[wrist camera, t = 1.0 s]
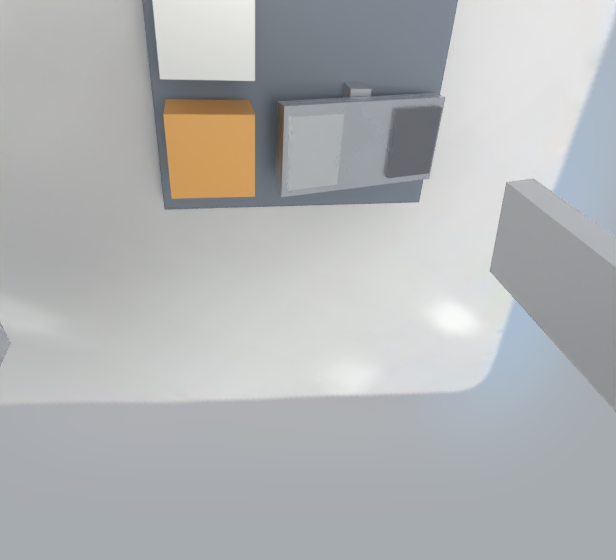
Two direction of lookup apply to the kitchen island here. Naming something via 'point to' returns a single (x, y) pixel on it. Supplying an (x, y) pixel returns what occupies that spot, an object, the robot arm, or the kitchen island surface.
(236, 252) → the kitchen island surface
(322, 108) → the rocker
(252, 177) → the button
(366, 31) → the panel
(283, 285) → the kitchen island surface
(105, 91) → the kitchen island surface
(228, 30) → the button
